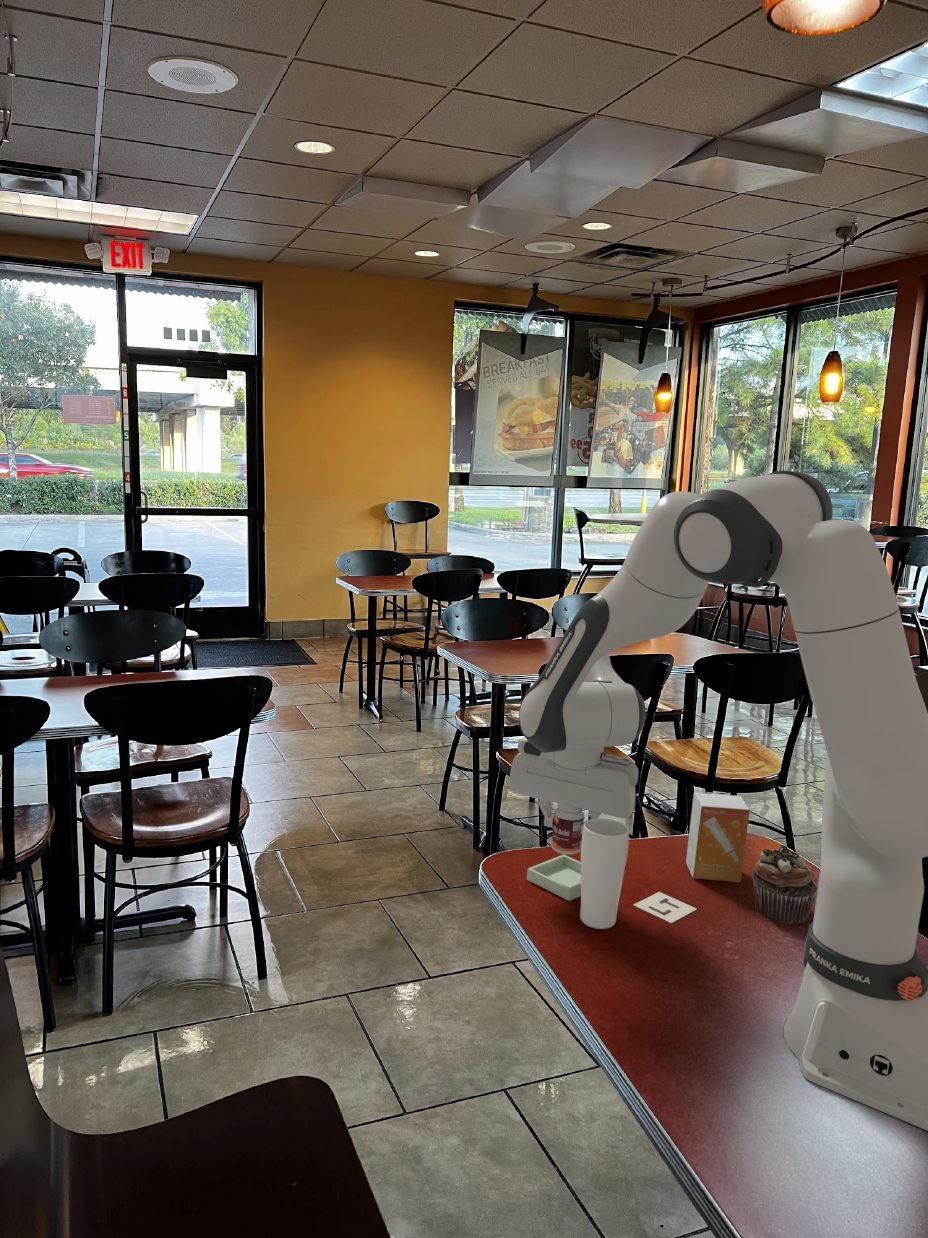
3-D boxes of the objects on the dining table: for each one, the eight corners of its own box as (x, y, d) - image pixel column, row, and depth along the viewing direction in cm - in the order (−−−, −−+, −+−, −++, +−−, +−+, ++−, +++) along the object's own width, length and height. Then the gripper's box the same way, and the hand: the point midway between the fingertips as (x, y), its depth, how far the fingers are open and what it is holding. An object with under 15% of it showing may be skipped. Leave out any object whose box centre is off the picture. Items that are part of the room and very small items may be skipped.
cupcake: (792, 933, 137) (800, 870, 135) (736, 906, 144) (743, 846, 142) (826, 915, 143) (834, 855, 141) (771, 891, 150) (778, 833, 148)
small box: (692, 880, 152) (700, 805, 150) (685, 863, 158) (692, 791, 156) (741, 883, 152) (750, 809, 150) (732, 866, 158) (740, 795, 156)
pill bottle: (545, 847, 148) (549, 797, 146) (565, 840, 151) (569, 792, 149) (567, 858, 144) (571, 807, 143) (587, 850, 147) (591, 801, 146)
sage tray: (605, 884, 149) (606, 874, 148) (569, 901, 142) (570, 889, 142) (562, 865, 155) (563, 854, 155) (526, 879, 149) (527, 868, 148)
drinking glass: (619, 913, 140) (627, 820, 137) (622, 935, 133) (631, 838, 130) (574, 908, 140) (582, 815, 137) (575, 931, 134) (583, 834, 131)
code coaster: (697, 909, 142) (697, 908, 142) (671, 923, 137) (671, 922, 137) (659, 892, 147) (659, 891, 147) (633, 905, 142) (633, 904, 142)
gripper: (645, 755, 143) (636, 838, 145) (523, 730, 151) (517, 809, 154) (634, 766, 137) (625, 853, 140) (508, 740, 146) (502, 822, 148)
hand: (567, 830), depth 147 cm, fingers closed on pill bottle, 5 cm apart
